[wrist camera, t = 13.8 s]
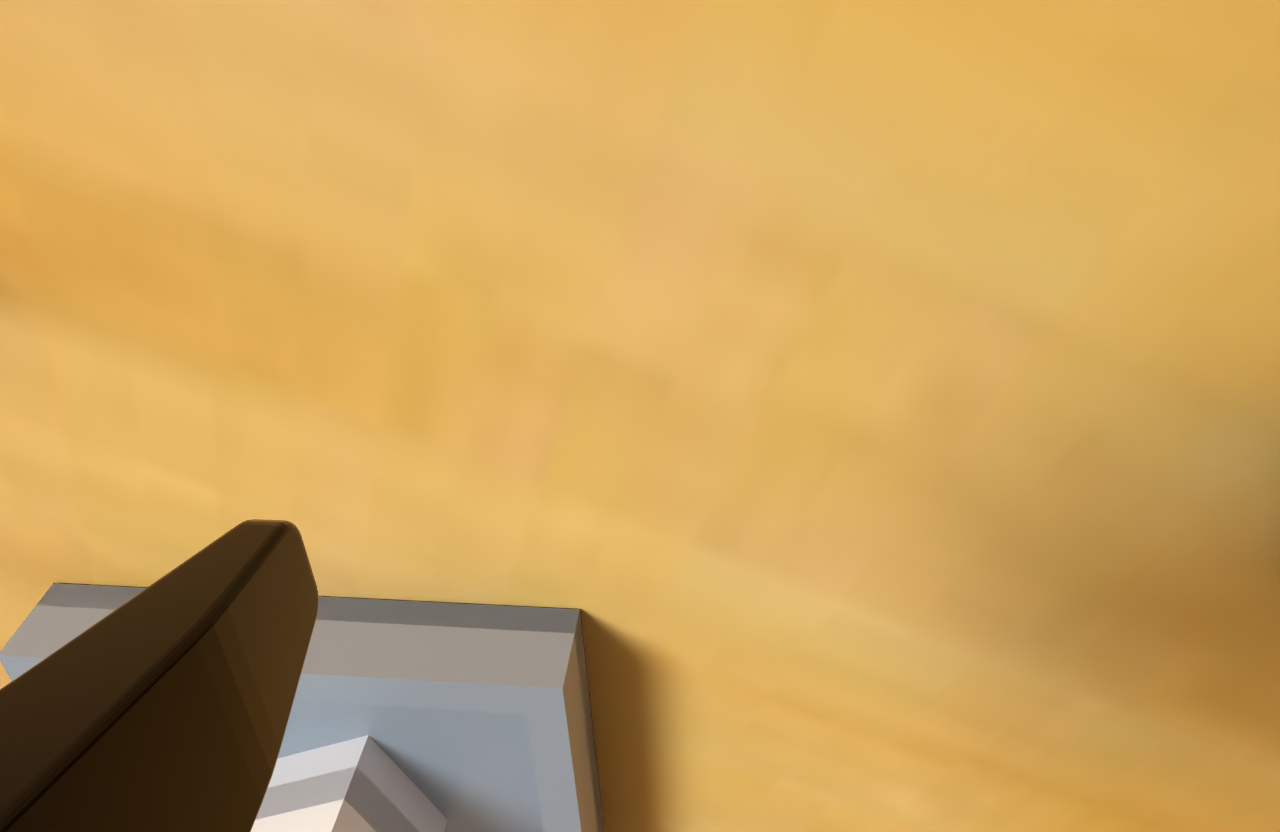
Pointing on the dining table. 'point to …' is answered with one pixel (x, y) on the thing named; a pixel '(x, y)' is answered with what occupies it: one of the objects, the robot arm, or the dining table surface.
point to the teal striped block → (344, 793)
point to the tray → (421, 698)
